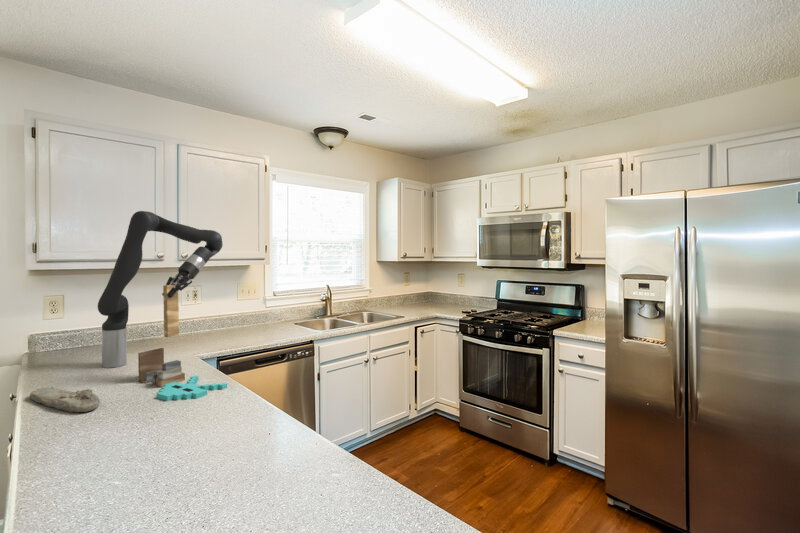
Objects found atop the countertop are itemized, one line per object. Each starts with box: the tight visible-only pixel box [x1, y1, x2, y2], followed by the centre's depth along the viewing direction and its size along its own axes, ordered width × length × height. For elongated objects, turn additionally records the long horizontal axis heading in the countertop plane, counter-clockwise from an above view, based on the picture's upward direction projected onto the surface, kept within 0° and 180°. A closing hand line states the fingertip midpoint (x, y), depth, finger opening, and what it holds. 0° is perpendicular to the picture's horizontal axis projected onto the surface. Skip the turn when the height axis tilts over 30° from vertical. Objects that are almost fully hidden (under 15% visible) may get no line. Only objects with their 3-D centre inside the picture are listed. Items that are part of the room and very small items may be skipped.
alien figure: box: [156, 375, 228, 402], centre depth 154 cm, size 20×2×20 cm
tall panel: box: [162, 284, 180, 338], centre depth 170 cm, size 2×5×22 cm, turn 153°
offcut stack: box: [155, 359, 186, 388], centre depth 162 cm, size 4×10×8 cm, turn 154°
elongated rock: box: [29, 386, 101, 413], centre depth 140 cm, size 35×5×10 cm
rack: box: [137, 347, 165, 386], centre depth 166 cm, size 10×10×12 cm
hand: (166, 296), depth 168 cm, fingers closed on tall panel, 2 cm apart
